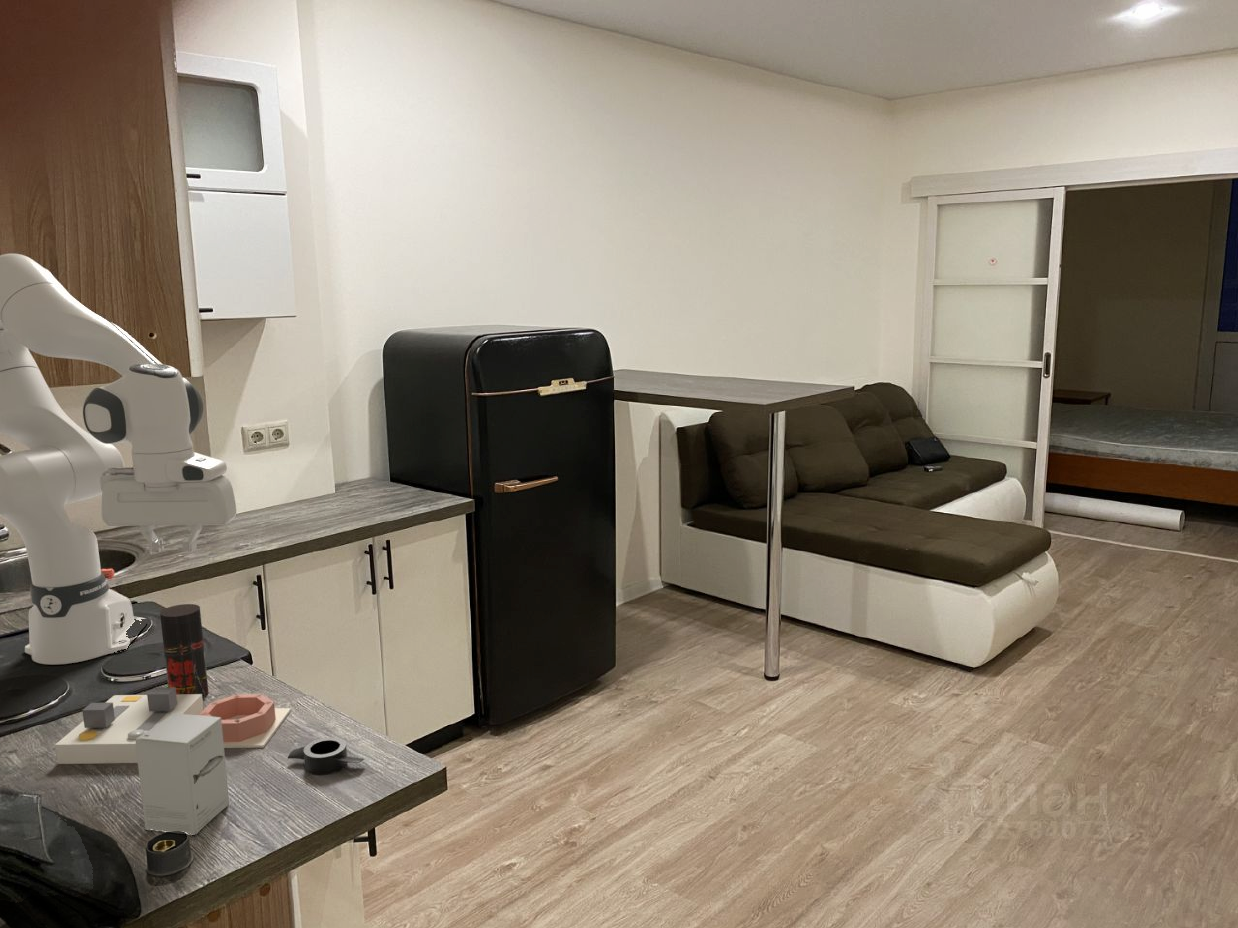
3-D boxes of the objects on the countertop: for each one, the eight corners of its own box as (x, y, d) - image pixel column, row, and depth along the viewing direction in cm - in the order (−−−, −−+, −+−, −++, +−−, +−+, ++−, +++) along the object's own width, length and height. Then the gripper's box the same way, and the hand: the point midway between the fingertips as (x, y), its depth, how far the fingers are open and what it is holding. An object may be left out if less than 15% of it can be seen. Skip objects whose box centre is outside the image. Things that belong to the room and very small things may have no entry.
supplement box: (195, 837, 114) (185, 743, 112) (143, 830, 116) (132, 738, 113) (231, 804, 121) (223, 715, 119) (182, 799, 123) (172, 711, 120)
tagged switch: (93, 720, 138) (91, 702, 137) (114, 719, 138) (112, 702, 137) (84, 727, 136) (82, 710, 135) (106, 727, 136) (104, 709, 135)
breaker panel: (116, 712, 148) (113, 692, 147) (203, 711, 148) (201, 691, 147) (57, 763, 132) (54, 741, 131) (155, 762, 132) (152, 740, 131)
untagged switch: (156, 704, 143) (154, 687, 142) (177, 704, 143) (175, 687, 142) (149, 711, 141) (147, 694, 140) (170, 711, 141) (168, 694, 140)
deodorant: (163, 696, 154) (154, 610, 151) (199, 684, 158) (190, 601, 155) (178, 706, 150) (168, 619, 147) (214, 694, 154) (206, 609, 151)
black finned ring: (317, 789, 125) (316, 770, 125) (284, 763, 132) (283, 744, 132) (368, 768, 130) (367, 749, 130) (334, 744, 138) (333, 726, 137)
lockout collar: (216, 711, 148) (214, 691, 147) (291, 710, 148) (289, 690, 147) (182, 748, 136) (179, 727, 135) (263, 747, 136) (261, 726, 136)
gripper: (87, 471, 143) (98, 557, 146) (219, 470, 143) (228, 555, 146) (109, 463, 149) (119, 546, 152) (236, 462, 149) (243, 544, 152)
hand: (173, 550), depth 149 cm, fingers open, 4 cm apart
